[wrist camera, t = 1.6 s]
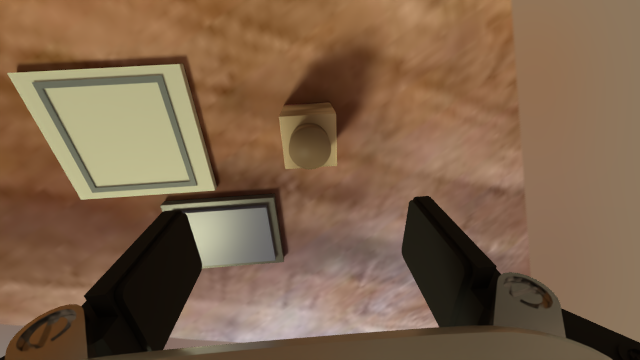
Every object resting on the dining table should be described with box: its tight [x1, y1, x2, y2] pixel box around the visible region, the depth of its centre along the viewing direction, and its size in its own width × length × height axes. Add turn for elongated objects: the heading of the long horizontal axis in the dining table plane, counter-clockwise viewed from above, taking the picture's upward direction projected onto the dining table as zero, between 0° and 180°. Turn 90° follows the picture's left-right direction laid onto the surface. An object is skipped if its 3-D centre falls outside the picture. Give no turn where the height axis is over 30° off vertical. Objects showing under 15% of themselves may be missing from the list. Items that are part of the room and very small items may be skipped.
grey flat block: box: [160, 194, 284, 268], centre depth 33 cm, size 14×11×2 cm
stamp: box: [279, 102, 337, 169], centre depth 24 cm, size 5×5×8 cm
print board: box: [7, 64, 217, 200], centre depth 26 cm, size 16×14×1 cm
